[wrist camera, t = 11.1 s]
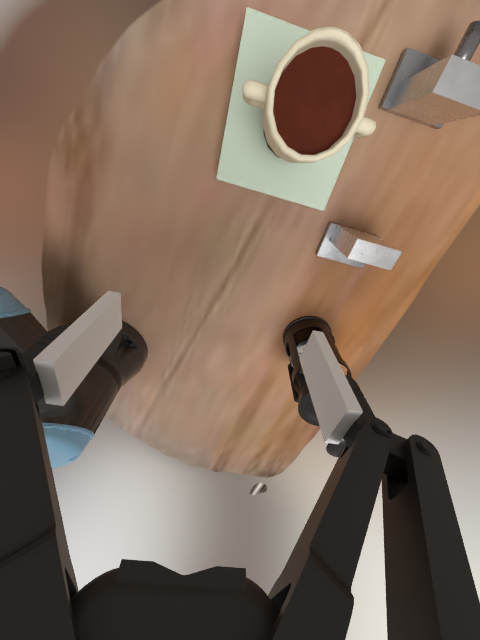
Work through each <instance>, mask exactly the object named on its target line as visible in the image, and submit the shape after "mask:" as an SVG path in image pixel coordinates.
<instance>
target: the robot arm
mask: <svg viewBox="0 0 480 640" xmlns="http://www.w3.org/2000/svg"><path fill="white" fill-rule="evenodd" d="M30 312H31V310H30V309H27V308H25V306H24V305H23V304H22V303H21V302H20V301H19V300H18V299H16V297H15V296H14V295H13V294H12V293H11V292H9V291H8V290H6V289H4V288H2V287H0V640H345V638H346V634H347V630H348V626H349V623H350V619H351V615H352V610H353V605H354V597H353V595H352V593H351V586H352V582H353V578H354V575H355V571H356V568H357V564H358V560H359V557H360V553H361V549H362V546H363V543H364V539H365V536H366V532H367V529H368V525H369V522H370V518H371V514H372V511H373V508H374V504H375V500H376V497H377V493H378V490H379V486H380V483H381V479H382V498H383V524H384V550H385V551H384V552H385V579H386V606H387V632H388V640H480V602H479V599H478V595H477V591H476V588H475V584H474V580H473V577H472V573H471V569H470V565H469V562H468V558H467V555H466V551H465V547H464V543H463V540H462V536H461V532H460V528H459V525H458V521H457V517H456V514H455V511H454V506H453V503H452V499H451V495H450V492H449V488H448V484H447V480H446V477H445V473H444V469H443V466H442V462H441V458H440V455H439V453H438V451H437V449H436V448H435V447H434V445H433V444H432V443H430V442H429V441H428V440H426V439H425V438H423V437H421V436H419V435H412V436H410V437H409V439H405V438H402V437H401V436H398V435H396V434H394V433H392V431H391V429H390V428H389V426H388V425H387V424H386V423H384V422H383V421H382V420H380V419H378V418H376V417H375V416H374V414H373V412H372V410H371V408H370V406H369V405H368V403H367V401H366V399H365V398H364V395H363V393H362V392H361V390H360V388H359V386H358V384H357V383H356V382H355V380H354V379H353V378H352V377H351V376H347V375H344V373H343V371H342V369H341V367H340V365H339V363H338V361H337V359H336V357H335V355H334V353H333V351H332V349H331V347H330V345H329V343H328V341H327V339H326V337H325V335H324V333H323V332H320V331H314V330H313V331H312V333H311V335H310V338H309V340H308V342H307V344H306V346H305V348H304V350H303V353H302V355H301V357H300V359H299V360H300V363H301V366H302V369H303V373H304V376H305V379H306V383H307V386H308V389H309V392H310V396H311V399H312V402H313V405H314V409H315V412H316V415H317V418H318V422H319V425H320V428H321V431H322V435H323V438H324V441H325V443H332V444H339V443H340V442H341V440H342V439H343V438H344V440H345V443H346V446H345V447H344V448H343V449H342V451H341V452H340V453H339V455H338V456H337V457H339V458H338V460H337V462H336V464H335V466H334V468H333V470H332V472H331V474H330V477H329V479H328V480H327V483H326V485H325V487H324V489H323V491H322V493H321V495H320V497H319V499H318V501H317V503H316V505H315V507H314V509H313V511H312V513H311V515H310V517H309V519H308V521H307V523H306V525H305V527H304V529H303V531H302V533H301V535H300V537H299V539H298V542H297V543H296V545H295V547H294V549H293V551H292V553H291V556H290V558H289V560H288V562H287V564H286V566H285V568H284V570H283V571H282V573H281V575H280V577H279V578H278V579H277V581H276V582H275V584H274V586H273V588H272V589H271V591H270V593H269V595H268V596H267V594H266V593H265V592H264V591H263V590H262V589H261V588H260V587H259V586H258V585H257V584H256V583H254V582H253V581H252V580H250V579H248V578H246V569H245V568H232V567H219V566H216V567H213V568H209V569H206V570H203V571H199V572H196V573H193V574H189V575H181V574H179V573H176V572H174V571H172V570H170V569H168V568H166V567H164V566H162V565H159V564H157V563H155V562H152V561H138V560H125V559H122V561H121V564H120V567H119V568H116V569H113V570H111V571H108V572H106V573H104V574H102V575H100V576H99V577H97V578H95V579H94V580H92V581H91V582H90V583H88V584H87V585H85V586H84V587H83V588H82V589H81V590H80V591H79V592H78V587H77V583H76V578H75V574H74V570H73V566H72V563H71V559H70V555H69V550H68V545H67V540H66V535H65V531H64V526H63V521H62V516H61V511H60V507H59V502H58V497H57V492H56V488H55V483H54V478H53V473H52V468H54V467H60V466H65V465H67V464H70V463H72V462H73V461H75V460H76V459H77V458H78V457H79V456H80V455H81V453H82V452H83V450H84V449H85V447H86V446H87V444H88V443H89V441H90V440H91V439H92V438H93V437H94V434H95V432H96V430H97V428H98V427H99V425H100V423H101V421H102V420H103V418H104V416H105V414H106V412H107V411H108V409H109V407H110V405H111V403H112V402H113V400H114V398H115V396H116V395H117V393H118V391H119V389H120V388H121V387H122V386H123V385H124V384H125V383H126V382H128V381H129V380H130V379H131V378H132V377H134V376H135V375H136V374H137V373H138V372H139V371H140V370H141V368H142V367H143V365H144V363H145V361H146V359H147V347H146V344H145V342H144V340H143V338H142V337H141V335H140V334H139V333H138V332H137V331H136V330H135V329H134V328H132V327H131V326H130V325H128V324H126V323H125V322H123V321H122V312H121V293H119V292H114V291H107V292H106V293H105V294H104V295H103V296H102V297H101V298H100V299H99V300H98V301H96V302H95V303H94V304H93V305H92V306H91V307H90V308H89V309H88V310H87V311H86V312H84V313H83V314H82V315H81V316H80V317H79V318H78V319H77V320H76V321H75V322H74V323H72V324H71V325H70V326H69V327H63V326H59V327H57V328H54V329H52V330H50V331H48V332H47V331H46V330H45V329H44V327H43V326H42V325H41V324H40V323H39V322H38V321H37V320H36V318H35V317H34V316H33V315H32V314H31V313H30Z"/></svg>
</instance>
